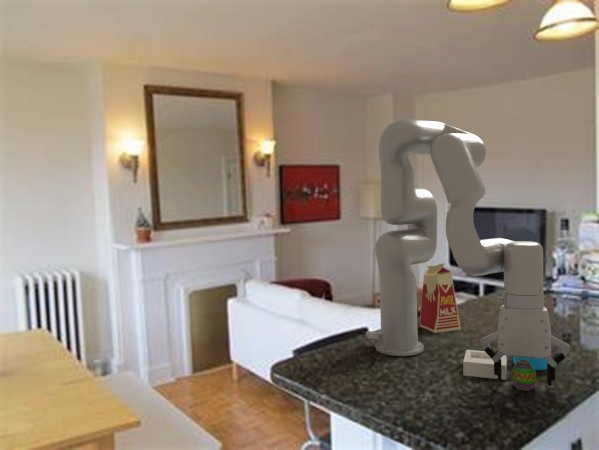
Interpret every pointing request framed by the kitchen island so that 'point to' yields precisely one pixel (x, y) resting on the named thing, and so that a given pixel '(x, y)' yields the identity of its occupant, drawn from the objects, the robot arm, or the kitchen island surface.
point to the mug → (533, 362)
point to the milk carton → (439, 301)
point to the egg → (523, 375)
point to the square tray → (482, 365)
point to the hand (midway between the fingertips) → (524, 381)
